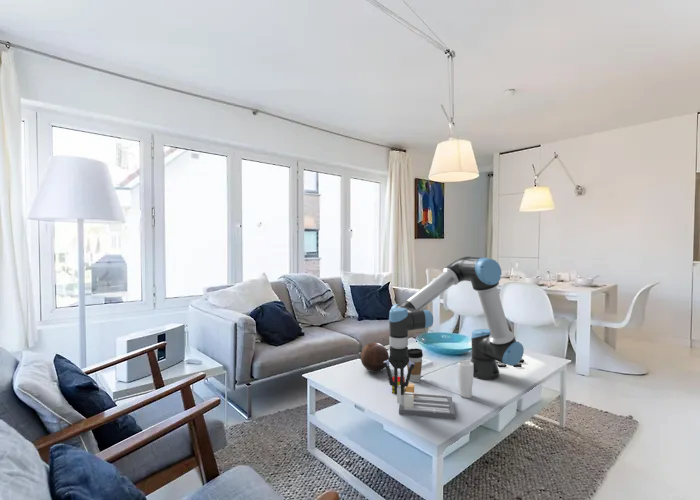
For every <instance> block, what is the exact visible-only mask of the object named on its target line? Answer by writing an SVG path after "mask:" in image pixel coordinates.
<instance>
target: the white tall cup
mask: <svg viewBox="0 0 700 500" xmlns="http://www.w3.org/2000/svg"><path fill="white" fill-rule="evenodd" d="M470 361H471V360H459V361H458V362H457V377H458V388H459V391H458V392H459V396H460V397H462V398H464V399H469V398H472V396H473V386H474V385H473V384H474V377H473V374H474V365H473V363H472V362H470Z"/></svg>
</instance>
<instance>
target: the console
mask: <svg viewBox="0 0 700 500" xmlns="http://www.w3.org/2000/svg"><path fill="white" fill-rule="evenodd" d="M404 395H405V394H403V395H401V404H399V403H398V404H399V405H398V415H403V416H405V415H406V416H415V415H416V416H415V417H426V418H427V417H429V418H437V419H438V418H440V419H451V420H455V419H456V413H455V407H454V401H453V396H448V395H447V394H437V393H434V394H433V393H420V392H414V406H413V408H407V407H404Z"/></svg>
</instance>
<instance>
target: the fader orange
mask: <svg viewBox="0 0 700 500" xmlns="http://www.w3.org/2000/svg"><path fill="white" fill-rule="evenodd" d="M405 392H411V393H415V383H411V382H409V383H408V386H407V387H406V386H405Z"/></svg>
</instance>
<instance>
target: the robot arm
mask: <svg viewBox="0 0 700 500" xmlns="http://www.w3.org/2000/svg"><path fill="white" fill-rule="evenodd" d="M502 273H503V272H502V268H501V266H500V264H499V262H497V260H496V259H493V258H490V257H489V258H488V257H479V256H463V257H461V258H458V259H456V260H455V261H453V262H451V263H449V264H448V265H447V266H445V267H444V268H443V269H442V272H441V273H440V274H439V275H437V276H436V277H435V278H434V279H432V280H431V281H429V282H428V283H427V284H426V285H424V286H423V287H422V288H420V289H419V290H418V291H416V292H415V293H414V294H413V295H411V296H410V297H409V298H407V300H405V301H403V302H402V303H396V304H393V305H392V306H391V308H390V310H389V315H388V323H389V324H388V325H389V328H388V329H389V330H388V332H389V338H388V339H389V340H388V341H389V359H388V360H387V361H384V363H383V365H384V366H385V368H384V369H385V372H386V374H387V379H388V381H389V382H388V383H389V385H390V386H391V387H392V386H394V393H393V394H394V395H395V396H396V403H397V404H401V395H403V394H404V387H405V388H406V387H407V386H408V383H410V381H409V379H410V375H411V371H412V369H413V367H414V362H411V361H409V358H408V349H409V347H408V345H409V344H408V343H409V331H415V330H422V329H424V330H425V329H428V328H431V327H432V326H433V324H434V315H433V313H432V312H431V311H430V310H429V309H424V308H425V307H426V306H428V305H429V304H430V303H432V302H433V301H434V300H436V299H437V298H438V297H439V296H441V295H442V294H443V293H444V292H446V291H447V290H449V289H450V288H451V287H452V286H456V285H458V284H459V283H461V282H464V281H466V282H470V283H471V286H472V289H473V290H474V291H476V292H477V294H478V298H479V300H480V304H481V307H482V311H483V314H484V318H485V321H486V324H487V327H488V328H479V329H474V330H473V331H472V332H471V339H470V340H471V358H470V360H469V361H470V362H472V363H473V365H474V374H473V378H476V379H480V380H486V381H487V380H488V381H489V380H490V381H492V380H497V379H499V378H500V369H499V367H498V364H497V362H499V363H502V364H504V365H507V366H516V365H517V364H519V362H520V361H521V360H522V358H523V356H524V351H525V349H524V348H525V347H524V345H523V344H522V343H520V342H519V341H517V340H516V337H515V333H513V332H512V331H511V330H510V329H509V328H510V327H509V324H508V321H507V318H506V315H505V311H504V308H503V304H502V301H501V298H500V294H499V290H498V286H499V284H500V283H499V282H500V281H501V279H502ZM407 364H409V365H408V366H409V369H407V374H406V378H405V382H404V377H405V373H404V372H405V368H406V367H407ZM390 365H391V366H392V368H393V375H392V371H391V367H390ZM398 369H399V371H400V373H399V374H400V376H398V372H399V371H398ZM393 376H394V381H393V379H392V377H393ZM398 377H401V385H398Z"/></svg>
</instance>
